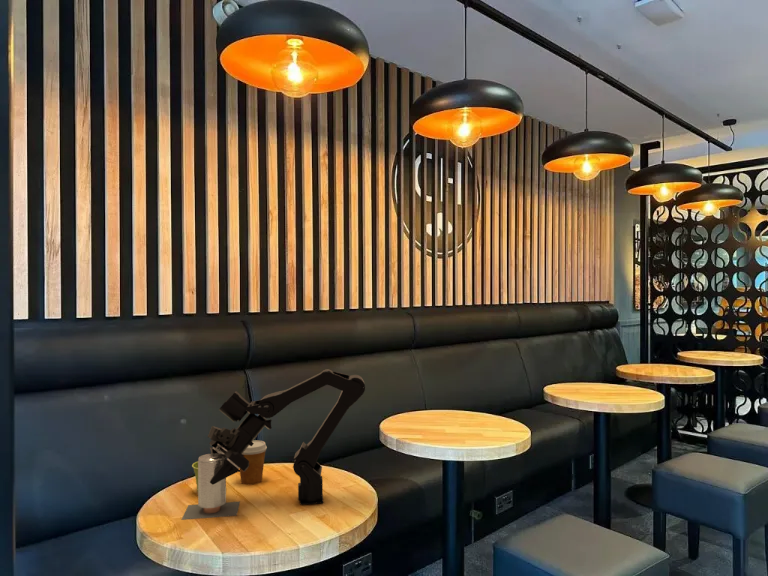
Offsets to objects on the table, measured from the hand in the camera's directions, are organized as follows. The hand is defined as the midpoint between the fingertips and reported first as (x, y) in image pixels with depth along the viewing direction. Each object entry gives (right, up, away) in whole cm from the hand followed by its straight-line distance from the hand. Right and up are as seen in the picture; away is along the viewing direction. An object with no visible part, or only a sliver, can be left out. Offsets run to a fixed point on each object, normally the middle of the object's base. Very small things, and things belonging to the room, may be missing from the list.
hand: (207, 479), depth 145 cm
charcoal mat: (+1, -9, +1) cm, 9 cm away
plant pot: (-4, -9, +15) cm, 18 cm away
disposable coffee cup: (+6, -10, +24) cm, 26 cm away
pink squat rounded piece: (+1, -8, +1) cm, 9 cm away
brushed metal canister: (+1, -7, +1) cm, 7 cm away
